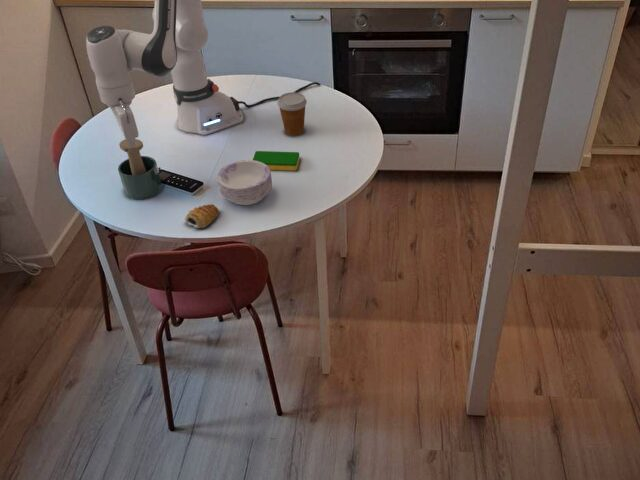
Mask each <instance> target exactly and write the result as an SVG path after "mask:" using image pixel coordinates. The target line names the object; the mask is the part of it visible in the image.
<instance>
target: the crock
mask: <svg viewBox="0 0 640 480" xmlns="http://www.w3.org/2000/svg"><path fill="white" fill-rule="evenodd" d="M141 158H142V161H143V164H144V166H145V169H146V173H144V174H140V175H132V171H131V167H130V162H129V158H127V159H125V160H123V161H122V162H120V164H119V165H118V168H117V171H118V174H119V178H120V180H121V184H122V187H123V188H122V189H123V190H124V193H125V195H126V196H127V197H128V198H130V199H133V200H145V199H150V198H153V197H154V196H156V195H158V194H159V193H160V192H161V191H162V189H163V183H162V179H161V175H160V170H159V168H158V163H157V161H156V159H155V158H153V157H151V156H147V155H141Z"/></svg>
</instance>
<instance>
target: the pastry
mask: <svg viewBox="0 0 640 480" xmlns="http://www.w3.org/2000/svg"><path fill="white" fill-rule="evenodd" d="M218 215H219V208H218V207H217V206H216V205H215V204H203V205H199V206H198V207H194V208H193V209H192V210H189V211H188V213H187V214H186V216H185V218H184V221H185V222H186V223H187V225H189V226H191V227H194V228H196V229H203V228H206V227H207V226H208V225H210V224H212V223H213V222H214V221H215V220H216V218H217V217H218Z"/></svg>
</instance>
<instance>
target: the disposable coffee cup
mask: <svg viewBox="0 0 640 480" xmlns="http://www.w3.org/2000/svg"><path fill="white" fill-rule="evenodd" d="M278 97H279V96H278ZM307 103H308V102H307V99H306V96H305V95H304V94H302V93H300V92H297V93H295V91H291V92H286V93H283V94H281V95H280V97H279V99H277V106H278V107H279V111H280V116H281V120H282V124H283V128H284V133H285V135H288V136H292V137H293V136H294V137H298V136H300V135H302V134H303V133H304V132H305V131H304V130H305V118H306V117H305V116H306V105H307Z"/></svg>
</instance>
